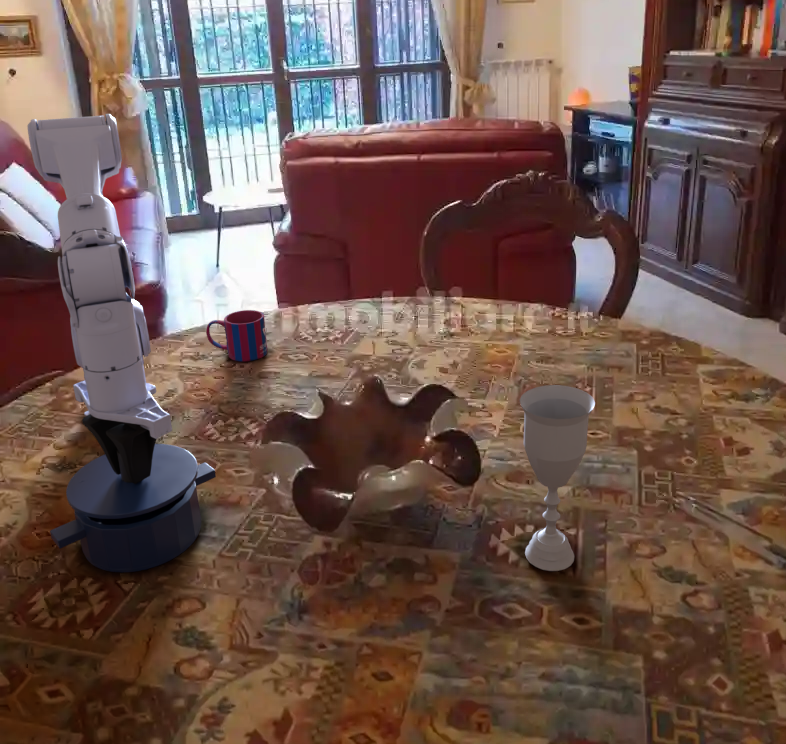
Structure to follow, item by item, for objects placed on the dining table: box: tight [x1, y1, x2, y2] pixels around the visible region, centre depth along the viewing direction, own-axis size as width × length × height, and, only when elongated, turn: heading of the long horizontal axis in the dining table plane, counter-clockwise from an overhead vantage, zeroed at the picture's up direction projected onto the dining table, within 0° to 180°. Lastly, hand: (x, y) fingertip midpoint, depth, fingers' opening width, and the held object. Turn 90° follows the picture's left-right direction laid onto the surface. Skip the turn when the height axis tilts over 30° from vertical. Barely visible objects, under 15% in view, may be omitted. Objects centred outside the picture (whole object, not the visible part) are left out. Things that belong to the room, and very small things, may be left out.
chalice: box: [519, 384, 596, 572], centre depth 75 cm, size 7×7×18 cm
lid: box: [65, 443, 199, 519], centre depth 81 cm, size 14×14×5 cm
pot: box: [49, 462, 217, 573], centre depth 83 cm, size 13×18×5 cm
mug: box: [205, 309, 268, 362], centre depth 128 cm, size 7×10×7 cm
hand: (132, 474), depth 81 cm, fingers closed on lid, 2 cm apart
